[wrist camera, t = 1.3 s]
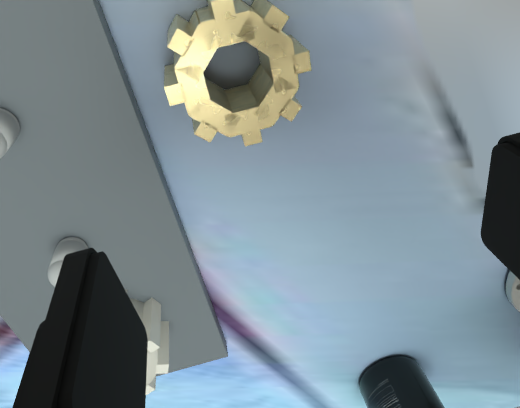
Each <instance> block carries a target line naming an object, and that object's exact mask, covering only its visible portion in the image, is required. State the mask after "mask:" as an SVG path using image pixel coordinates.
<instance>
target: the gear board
mask: <svg viewBox="0 0 520 408" xmlns="http://www.w3.org/2000/svg"><path fill="white" fill-rule="evenodd" d="M88 248H94V249H95V250H96V251H97V252H101V251H103V252H104V253H105V254H106V255H107V257H108V259H109V261H110V263H111V265H112V266H113V268H114V270H115V272H116V274H117V276H118V278H119V280H120V281H121V283H122V285H123V287H124V289H125V291H126V293H127V295H128V296H129V298H130V300H131V302H132V304H133V306H134V308H135V310H136V311H137V313H138V315H139V317H140V319H141V321H142V323H143V325H144V327H145V329H146V333H147V338H148V348H147V373H146V395H147V394H149V393H150V392H152V391H154V390H155V383H156V376H159V375H163V374H167V373H170V372H174V371H177V370H181V369H184V368H188V367H191V366H195V365H199V364H202V363H206V362H209V361H213V360H217V359H220V358H224V357H227V356H228V352H227V345H226V341H225V338H224V335H223V333H222V330H221V327H220V325H219V322H218V319H217V316H216V314H215V311H214V308H213V306H212V303H211V300H210V298H209V295H208V292H207V290H206V287H205V284H204V282H203V279H202V276H201V274H200V271H199V268H198V266H197V263H196V260H195V258H194V255H193V252H192V250H191V247H190V244H189V242H188V239H187V236H186V234H185V231H184V228H183V226H182V223H181V220H180V218H179V215H178V212H177V210H176V207H175V204H174V201H173V199H172V196H171V193H170V191H169V188H168V185H167V183H166V180H165V177H164V175H163V172H162V169H161V167H160V164H159V161H158V159H157V156H156V153H155V151H154V148H153V145H152V143H151V140H150V137H149V135H148V132H147V129H146V127H145V124H144V121H143V119H142V116H141V113H140V111H139V108H138V105H137V103H136V100H135V97H134V95H133V92H132V89H131V86H130V84H129V81H128V78H127V76H126V73H125V70H124V68H123V65H122V62H121V60H120V57H119V54H118V52H117V49H116V46H115V44H114V41H113V38H112V36H111V33H110V30H109V28H108V25H107V22H106V20H105V17H104V14H103V12H102V9H101V6H100V4H99V1H98V0H0V316H1V317H2V318H3V319H4V321H5V322H6V323H7V324H8V325H9V327H10V328H11V329H12V330H13V332H14V333H15V334H16V335H17V337H18V338H19V339H20V340H21V342H22V343H23V344H24V345H25V347H26V348H27V349H28V350H29V352H30V351H31V348H32V345H33V342H34V338H35V335H36V332H37V329H38V327H39V325H40V324H41V323H42V322H43V321H45V319H46V316H47V312H48V309H49V306H50V302H51V299H52V296H53V293H54V289H55V286H56V283H57V279H58V276H59V273H60V269H61V266H62V263H63V260H64V257H65V255H67V254H69V253H73V252H77V251H80V250H84V249H88Z"/></svg>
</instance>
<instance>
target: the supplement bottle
mask: <svg viewBox="0 0 520 408" xmlns="http://www.w3.org/2000/svg"><path fill="white" fill-rule="evenodd" d="M360 391H361V394H362V396H363V398H364V401H365V403H366V406H367V408H445V407H444V406H443V404H442V402H441V401H440V399H439V397H438V396H437V394H436V392H435V391H434V389H433V387H432V386H431V384H430V382H429V381H428V379H427V377H426V375H425V374H424V372H423V371H422V369H421V367H420V366H419V364H418V363H417V362H416V361H415V360H413V359H411V358H409V357H405V356H394V357H389V358H386V359H383V360H381V361H379V362H377V363H375V364H374V365H372V366H371V367H370V368H368V369H367V370H366V371H365V373H364V374H363V376H362V378H361V380H360Z"/></svg>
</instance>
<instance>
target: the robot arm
mask: <svg viewBox="0 0 520 408" xmlns="http://www.w3.org/2000/svg"><path fill="white" fill-rule="evenodd" d="M481 238H482V241H483V243H484V244H485V246H486V247H487V248H488V249H489V250H490V251H491V252H492V253H493V254H494V255H495V256H496V257H497V258H498V259H499V260H500V261H501V262H502V263H503V264H504V265H505V266H506V267H507V268H508V269H509V270H510V272H509V274H508V278H507V282H506V294H507V298H508V300H509V301H510V303H511V304H512V305H513V306H514V307H515V308H516V309H517V310H518V311H519V312H520V133H516V134H512V135H509V136H505V137H502V138H501V139H500V140H499V142H498V144H497V145H496V146H495V147H494V148H493V150H492V155H491V163H490V171H489V177H488V185H487V191H486V199H485V206H484V213H483V220H482V227H481ZM147 348H148V338H147V333H146V329H145V327H144V325H143V323H142V321H141V319H140V317H139V315H138V313H137V311H136V310H135V308H134V306H133V304H132V302H131V300H130V298H129V296H128V295H127V293H126V291H125V289H124V287H123V285H122V283H121V281H120V280H119V278H118V276H117V274H116V272H115V270H114V268H113V266H112V265H111V263H110V261H109V259H108V257H107V255H106V254H105V253H104V252H103V251H101V252H97V251H96V250H95V249H94V248H88V249H84V250H80V251H77V252H73V253H69V254H67V255H65V257H64V260H63V263H62V266H61V269H60V273H59V276H58V279H57V283H56V286H55V289H54V293H53V296H52V299H51V302H50V306H49V309H48V312H47V316H46V319H45V321H43V322H42V323H41V324H40V325H39V327H38V329H37V332H36V335H35V338H34V342H33V345H32V348H31V351H30V354H29V357H28V361H27V364H26V367H25V370H24V373H23V376H22V380H21V383H20V386H19V389H18V392H17V395H16V399H15V402H14V405H13V408H145V398H146V373H147ZM516 408H520V406H519V407H516Z"/></svg>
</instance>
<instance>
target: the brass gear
mask: <svg viewBox="0 0 520 408" xmlns="http://www.w3.org/2000/svg"><path fill="white" fill-rule="evenodd" d="M207 2H208V6H207V7H203V8H199V9H196V11H194V12H193V14H192V16H191V18H190V20H189V22H188V21H186V20H185V19H183V18H182V17H180V16H179V15H177V14H176V15H175V17H174V19H173V21H172V23H171V25H170V27H169V29H168V38H167V47H168V48H170V49H171V50H173V51H174V64H170V65H166V66H165V71H164V89H165V92H166V95H167V98H168V101H169V104H170V106H172V105H176V104H180V103H185V106H186V109H187V112H188V115H189V116H190V117H192V121H193V129H194V134H195V135H197V136H199V137H201V138H203V139H204V140H206V141H208V142H211V141H212V139H213V137H214V136H215V134H216V133H217V131H218V132H219V133H221V134H223V135H225V136H227V137H229V136H230V137H233V136H237V135H241V136H242V139H243V142H244V145H245V146H248V145H252V144H256V143H260V142H262V138H261V133H260V130H261V129H265V128H268V127H272V125H273V126H274V124H275V123H276V121H277V120H278V118H279V117H280V115H281V116H283V117H285V118H286V119H288V120H290V121H291V122H292V120H293V119H294V117H295V116H296V115H297V113H298V112H299V110H300V109H301V107H302V106H301V104H300V103H299V102H298V100H297V99H296V98H295V96H294V95H295V93H296V92H297V91H298V89H299V88H298V87H299V81H298V74H299V73H303V72H307V71H311V63H310V55H309V51H308V50H307V49H306V48H305V47H304V46H303V45H301V44H300V43H299V42H298V41H297V40H296V39H295V38H293V37H292V36H291V35H287V34H286V33H285V32H283V31H282V28H283V26H284V25H285V23H286V22H287V20H288V18H289V16H287V15H286V14H285V13H283V12H282V11H281V10H279V9H278V8H276V7H275V6H274V5H272V4H271V3H270V2H268V1H267V0H254V2H253V3H252V5H251V7H250V6H249V5H248V4H246V3H245V2H243V1H242V0H207ZM244 41H246V42H248V43H249V44H251V45H252V46H254V47H255V48H257V50H258V55H259V60H260V65H259V66H258V68H257V70H256V71H255V73H254V74H253V76H252V78H251V79H250V81H249V82H248V84H245V85H241V86H237V87H233V88H229V89H226V90H225V89H223V88H221V87H220V86H218V85H216V84H215V83H213V82H211V81H210V80H208V79H206V78H205V77H204V73H203V72H204V71H205V69H206V67H207V65H208V64H209V62H210V60H211V58H212V57H213V55H214V53H215V52H216V50H217V48H220V47H224V46H228V45H232V44H236V43H240V42H244Z"/></svg>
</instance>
